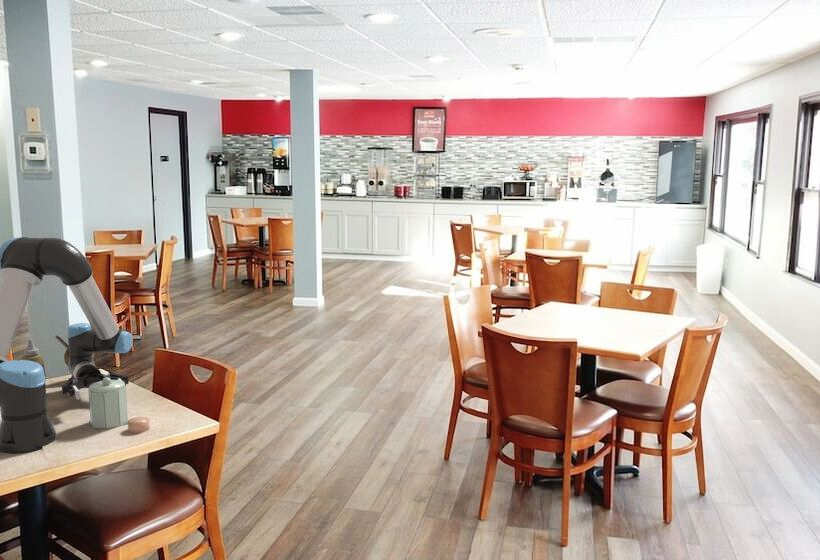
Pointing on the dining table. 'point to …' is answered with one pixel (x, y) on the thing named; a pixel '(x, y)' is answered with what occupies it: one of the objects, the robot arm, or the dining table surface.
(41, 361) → the squeeze bottle
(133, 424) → the light brown short cylinder
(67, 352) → the wooden mug
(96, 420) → the lidded canister jar
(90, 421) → the mat
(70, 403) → the dining table surface
